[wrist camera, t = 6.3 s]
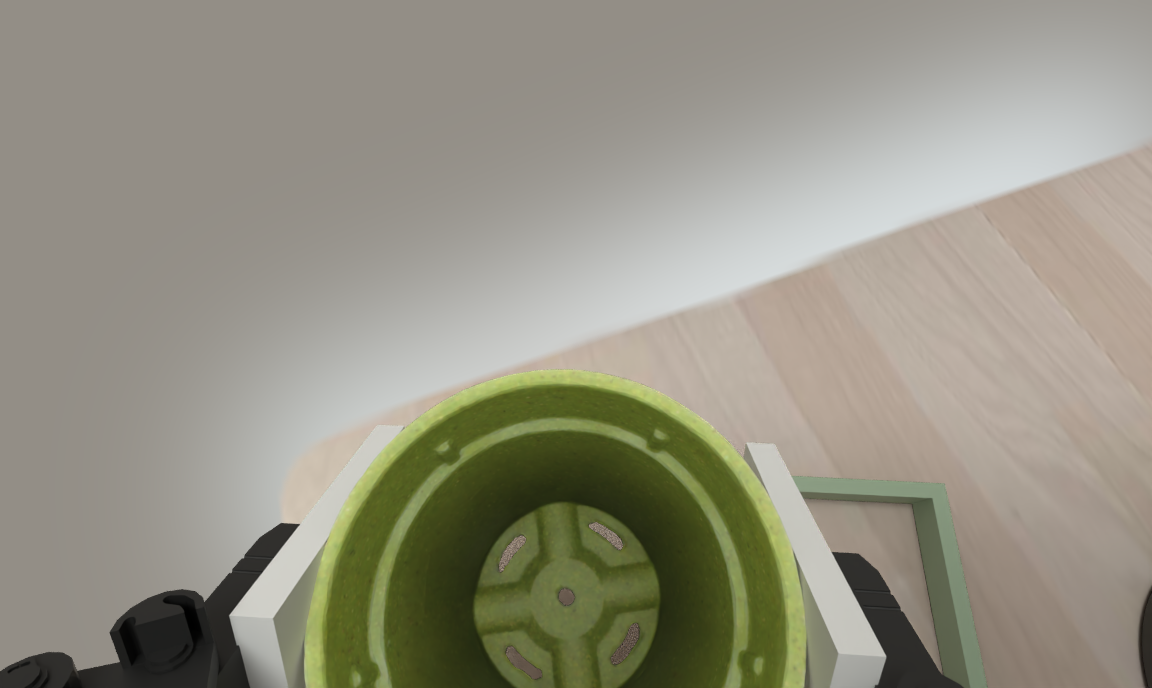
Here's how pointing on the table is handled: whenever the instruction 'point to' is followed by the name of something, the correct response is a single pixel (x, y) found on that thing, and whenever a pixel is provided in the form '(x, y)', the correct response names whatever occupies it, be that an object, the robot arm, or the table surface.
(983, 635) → the table surface
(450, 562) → the plant pot
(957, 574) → the sage green collar
